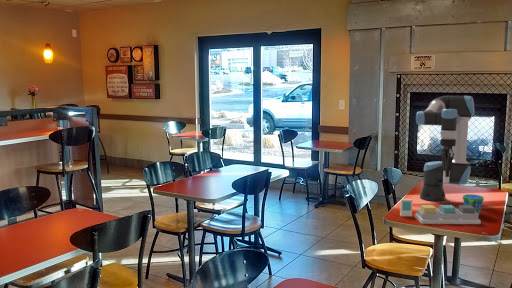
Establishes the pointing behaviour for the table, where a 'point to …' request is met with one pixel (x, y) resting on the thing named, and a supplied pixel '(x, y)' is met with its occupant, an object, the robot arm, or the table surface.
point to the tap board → (447, 217)
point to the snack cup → (473, 201)
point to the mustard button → (428, 209)
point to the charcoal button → (466, 209)
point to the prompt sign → (406, 207)
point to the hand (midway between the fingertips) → (446, 182)
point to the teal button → (447, 209)
